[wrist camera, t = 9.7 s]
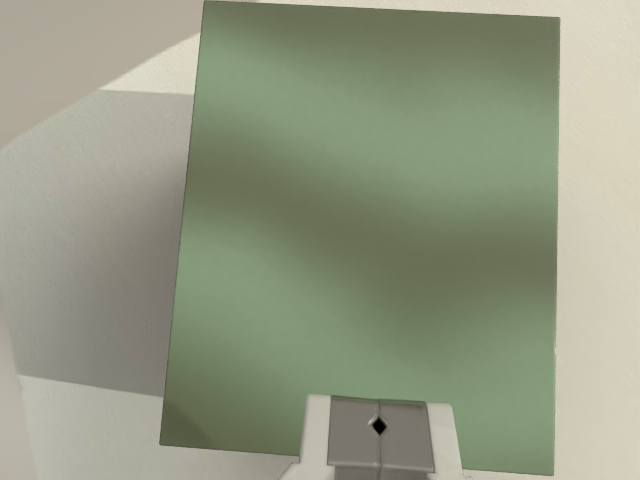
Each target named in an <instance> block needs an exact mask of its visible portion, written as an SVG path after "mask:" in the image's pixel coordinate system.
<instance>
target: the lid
mask: <svg viewBox="0 0 640 480" xmlns="http://www.w3.org/2000/svg"><path fill="white" fill-rule="evenodd" d="M559 72H560V18H559V17H542V16H521V15H500V14H479V13H459V12H438V11H417V10H396V9H375V8H354V7H334V6H313V5H292V4H271V3H250V2H229V1H208V0H205V1H204V6H203V16H202V26H201V36H200V46H199V55H198V65H197V75H196V85H195V95H194V105H193V115H192V125H191V134H190V144H189V154H188V164H187V174H186V184H185V194H184V204H183V214H182V223H181V233H180V243H179V253H178V263H177V273H176V283H175V293H174V302H173V312H172V322H171V332H170V342H169V352H168V362H167V372H166V382H165V391H164V401H163V411H162V421H161V431H160V441H159V444H160V445H162V446H175V447H188V448H200V449H213V450H226V451H239V452H251V453H264V454H277V455H290V456H300V447H301V438H302V428H303V419H304V409H305V400H306V396H307V393H313V394H326V395H337V396H347V397H358V398H368V399H396V400H414V401H424V402H437V403H449V404H450V405H451V407H452V410H453V416H454V422H455V428H456V434H457V440H458V446H459V452H460V459H461V465H462V469H468V470H480V471H493V472H506V473H519V474H531V475H544V476H554V442H555V368H556V294H557V220H558V146H559ZM330 408H331V404H330ZM329 424H330V423H329Z"/></svg>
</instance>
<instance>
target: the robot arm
mask: <svg viewBox="0 0 640 480" xmlns="http://www.w3.org/2000/svg"><path fill="white" fill-rule="evenodd" d="M330 404H331V408H330ZM329 423H330V424H329ZM278 480H473V479H472V477H471V476H463V471H462V465H461V459H460V452H459V446H458V440H457V434H456V428H455V422H454V416H453V410H452V407H451V405H450V404H449V403H437V402H424V401H414V400H396V399H368V398H358V397H347V396H337V395H326V394H313V393H307V396H306V400H305V409H304V419H303V428H302V438H301V447H300V457H299V463H291V464H290V466H289V467H288V468H287V469H286V470H285V472H284V473H283V474H282V475H281V476H280V478H279V479H278Z"/></svg>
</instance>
